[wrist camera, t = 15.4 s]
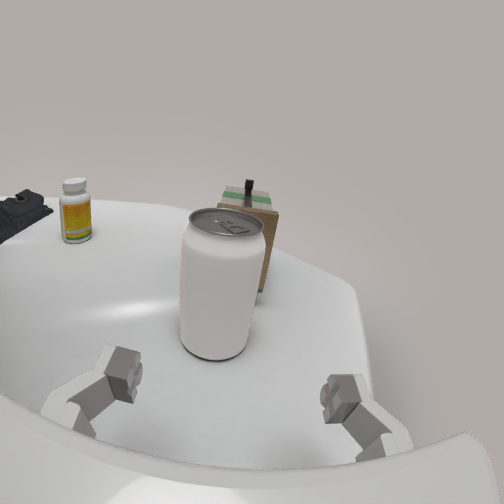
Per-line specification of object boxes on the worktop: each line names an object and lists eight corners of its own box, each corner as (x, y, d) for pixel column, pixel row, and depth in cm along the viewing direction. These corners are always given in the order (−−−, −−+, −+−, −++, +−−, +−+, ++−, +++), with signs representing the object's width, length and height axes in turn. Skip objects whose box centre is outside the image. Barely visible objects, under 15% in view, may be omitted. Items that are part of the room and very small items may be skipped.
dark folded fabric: (-44, 242, 27) (-48, 219, 25) (19, 205, 47) (17, 186, 45) (-10, 255, 28) (-15, 228, 26) (60, 210, 48) (58, 189, 46)
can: (218, 309, 30) (231, 203, 24) (260, 344, 26) (287, 228, 21) (167, 330, 25) (167, 211, 20) (207, 374, 21) (219, 245, 16)
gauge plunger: (262, 289, 30) (281, 203, 26) (208, 282, 30) (218, 194, 25) (259, 251, 39) (273, 183, 35) (217, 245, 38) (226, 176, 34)
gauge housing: (261, 292, 34) (278, 214, 30) (205, 284, 34) (214, 205, 29) (259, 254, 44) (271, 192, 39) (215, 248, 43) (223, 185, 39)
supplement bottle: (57, 238, 37) (53, 181, 33) (81, 228, 41) (79, 175, 37) (72, 247, 35) (68, 186, 31) (98, 236, 40) (96, 179, 36)
